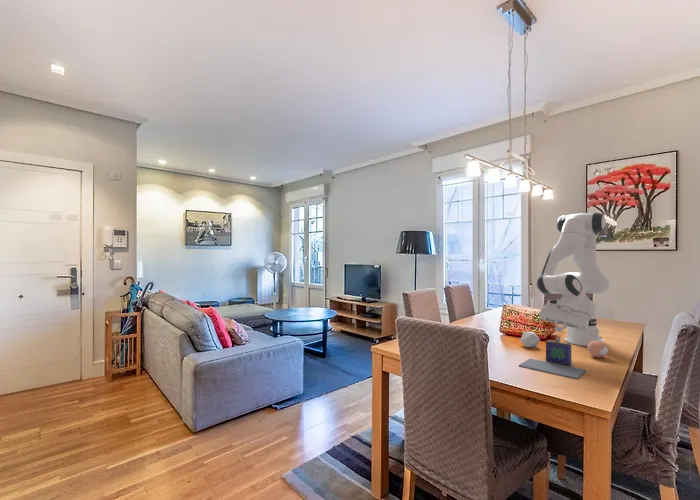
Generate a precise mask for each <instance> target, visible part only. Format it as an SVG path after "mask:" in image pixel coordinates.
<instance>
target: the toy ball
mask: <svg viewBox="0 0 700 500" xmlns="http://www.w3.org/2000/svg"><path fill="white" fill-rule="evenodd" d="M587 352H588V353H589V354H590V355H591V356H593V357H594V358H596V359H597V358H598V359H599V358H600V359H601V358H604V357H606V354H607V353H608V348H607V345H606V343H605V342H604V343H603V342H601V341H597V340H595V341H591V342H590V343H589V344H588V346H587Z"/></svg>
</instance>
